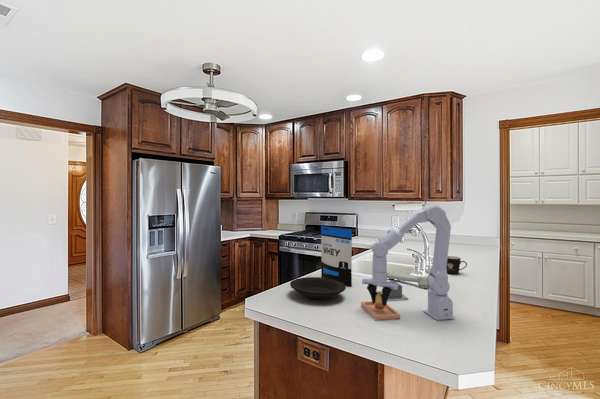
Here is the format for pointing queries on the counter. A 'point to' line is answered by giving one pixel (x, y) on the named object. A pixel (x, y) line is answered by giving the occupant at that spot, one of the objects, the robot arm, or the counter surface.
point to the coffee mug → (453, 265)
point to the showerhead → (427, 270)
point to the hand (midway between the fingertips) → (379, 304)
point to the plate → (317, 287)
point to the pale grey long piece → (410, 279)
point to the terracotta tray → (380, 312)
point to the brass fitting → (379, 300)
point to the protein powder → (336, 254)
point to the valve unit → (396, 293)
